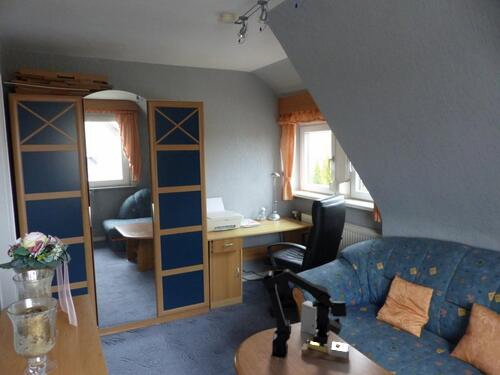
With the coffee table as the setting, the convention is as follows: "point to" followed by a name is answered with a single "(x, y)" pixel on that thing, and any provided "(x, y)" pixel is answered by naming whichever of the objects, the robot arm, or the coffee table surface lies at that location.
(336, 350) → the grey squarish block
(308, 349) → the body
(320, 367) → the coffee table surface
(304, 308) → the skincare box
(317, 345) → the lever
